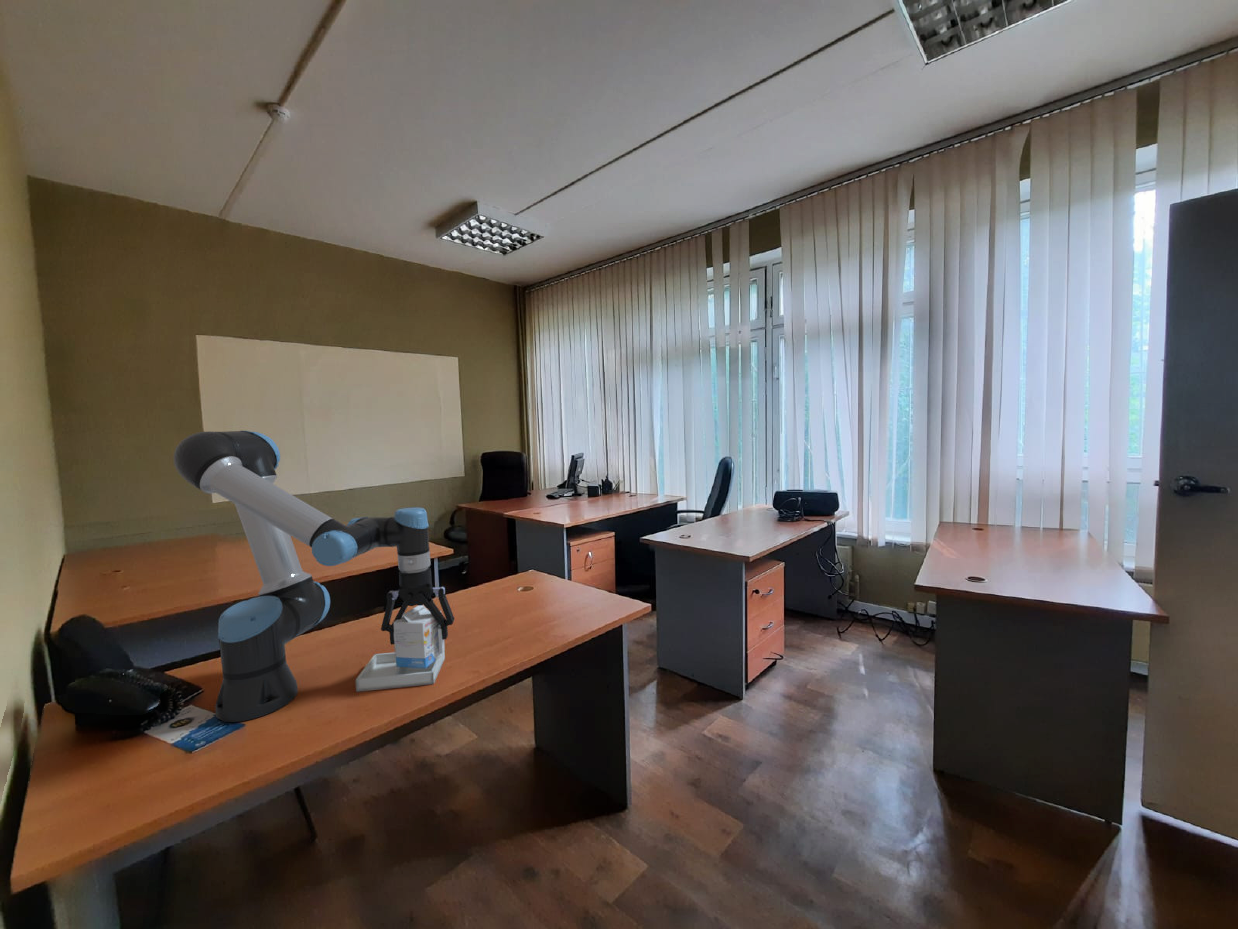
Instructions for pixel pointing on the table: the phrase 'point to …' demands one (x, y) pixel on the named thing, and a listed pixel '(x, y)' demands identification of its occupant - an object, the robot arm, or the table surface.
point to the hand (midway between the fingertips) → (420, 653)
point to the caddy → (395, 674)
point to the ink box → (416, 639)
